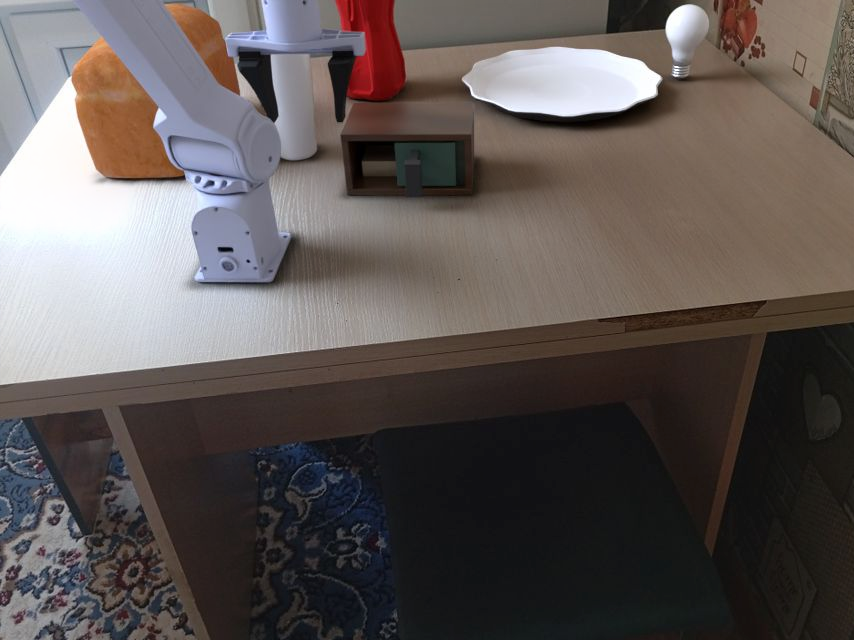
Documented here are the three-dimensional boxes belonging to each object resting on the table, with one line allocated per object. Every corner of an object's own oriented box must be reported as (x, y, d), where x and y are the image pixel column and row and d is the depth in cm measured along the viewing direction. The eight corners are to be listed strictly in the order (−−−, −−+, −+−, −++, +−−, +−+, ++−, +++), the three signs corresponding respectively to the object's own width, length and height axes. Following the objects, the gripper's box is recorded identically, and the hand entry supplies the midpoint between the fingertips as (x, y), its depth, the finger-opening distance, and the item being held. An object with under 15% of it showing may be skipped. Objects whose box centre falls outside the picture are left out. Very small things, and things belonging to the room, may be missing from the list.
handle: (454, 203, 90) (453, 159, 86) (393, 203, 90) (389, 159, 87) (456, 183, 94) (455, 140, 90) (398, 183, 94) (394, 140, 91)
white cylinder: (312, 166, 101) (295, 46, 92) (263, 162, 102) (241, 44, 93) (330, 144, 106) (315, 29, 97) (283, 141, 107) (263, 27, 98)
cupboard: (472, 195, 94) (471, 134, 89) (347, 195, 94) (339, 134, 90) (474, 159, 101) (473, 102, 97) (359, 160, 102) (353, 102, 97)
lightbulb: (651, 74, 125) (660, 1, 119) (686, 70, 127) (698, -3, 120) (671, 88, 121) (682, 12, 114) (707, 82, 122) (720, 8, 115)
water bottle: (329, 103, 118) (305, -84, 103) (359, 79, 126) (341, -98, 111) (385, 109, 116) (369, -81, 100) (412, 84, 124) (401, -96, 109)
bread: (248, 103, 119) (227, -8, 109) (197, 180, 98) (165, 51, 88) (158, 104, 119) (129, -7, 110) (89, 181, 99) (45, 52, 89)
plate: (438, 119, 112) (438, 103, 111) (493, 55, 134) (493, 41, 133) (646, 140, 105) (648, 123, 104) (668, 69, 127) (670, 54, 126)
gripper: (364, -20, 83) (375, 106, 91) (229, -19, 84) (252, 106, 92) (354, -3, 78) (367, 129, 86) (209, -1, 78) (236, 130, 86)
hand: (307, 119), depth 89 cm, fingers open, 7 cm apart
